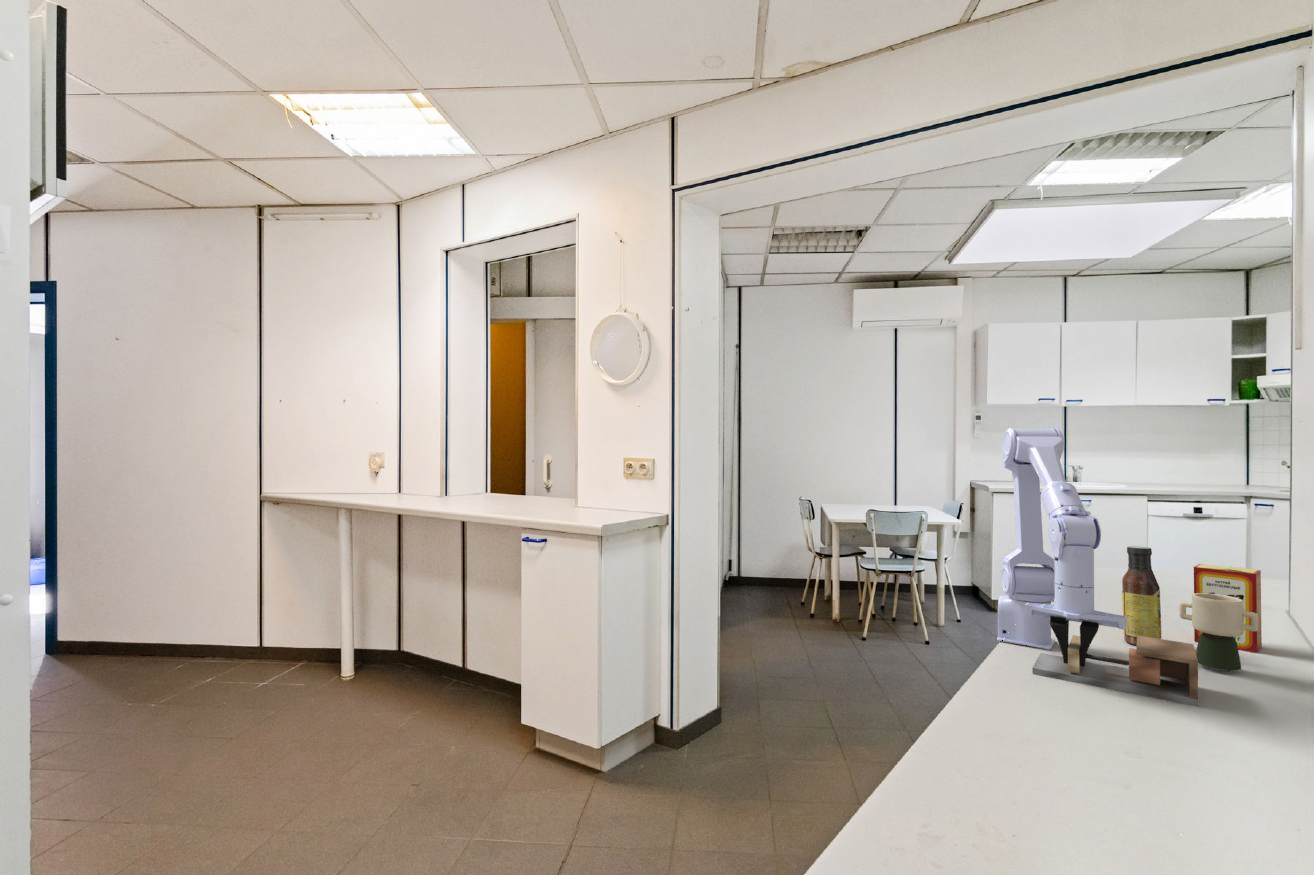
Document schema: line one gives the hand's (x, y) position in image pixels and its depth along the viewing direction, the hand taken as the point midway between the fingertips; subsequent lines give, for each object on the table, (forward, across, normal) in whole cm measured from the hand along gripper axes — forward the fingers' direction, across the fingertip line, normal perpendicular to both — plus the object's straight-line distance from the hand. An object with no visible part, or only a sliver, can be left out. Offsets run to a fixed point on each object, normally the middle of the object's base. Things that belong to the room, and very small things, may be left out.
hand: (1074, 663), depth 107 cm
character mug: (+3, +20, +23) cm, 31 cm away
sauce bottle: (+3, +9, +33) cm, 34 cm away
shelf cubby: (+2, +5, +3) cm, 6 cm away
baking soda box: (+3, +23, +45) cm, 51 cm away
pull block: (+1, +5, +3) cm, 6 cm away
